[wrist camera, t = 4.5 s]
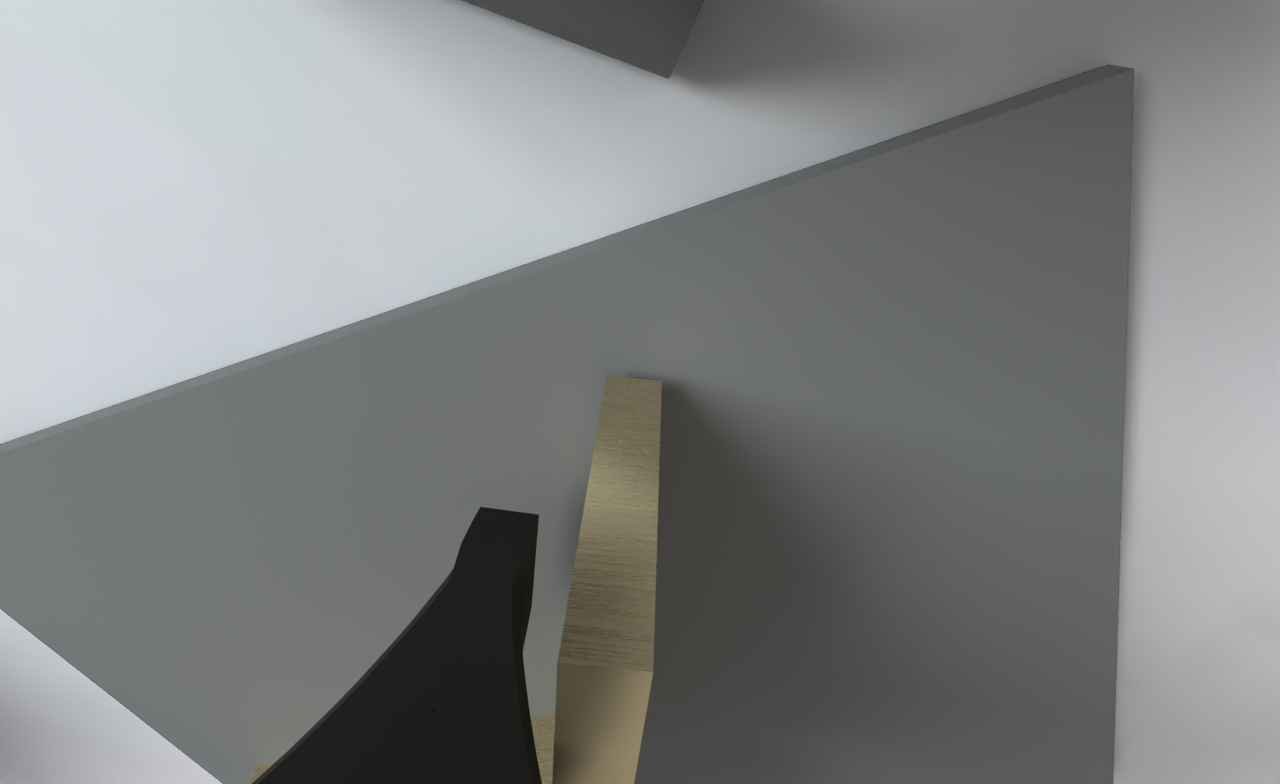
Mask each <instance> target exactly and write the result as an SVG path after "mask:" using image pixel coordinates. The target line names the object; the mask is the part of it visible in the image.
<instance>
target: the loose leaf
mask: <svg viewBox="0 0 1280 784" xmlns="http://www.w3.org/2000/svg"><path fill="white" fill-rule="evenodd" d="M661 391H662V381H656V380H647V379H637V378H627V377H618V376H608V375H607V377H606V383H605V388H604V394H603V400H602V406H601V412H600V417H599V423H598V429H597V435H596V441H595V447H594V452H593V458H592V464H591V470H590V476H589V481H588V487H587V493H586V499H585V505H584V511H583V516H582V522H581V528H580V534H579V540H578V545H577V551H576V557H575V563H574V569H573V575H572V580H571V586H570V592H569V598H568V604H567V609H566V615H565V621H564V627H563V633H562V639H561V644H560V650H559V656H558V662H557V683H556V706H555V730H554V753H553V777H552V784H634V781H635V775H636V770H637V764H638V758H639V752H640V746H641V740H642V735H643V729H644V723H645V717H646V711H647V705H648V699H649V694H650V688H651V682H652V676H653V662H654V628H655V594H656V560H657V526H658V492H659V459H660V425H661Z"/></svg>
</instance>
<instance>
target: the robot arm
mask: <svg viewBox="0 0 1280 784" xmlns="http://www.w3.org/2000/svg"><path fill="white" fill-rule="evenodd" d="M538 522H539V515H538V514H531V513H524V512H516V511H509V510H501V509H494V508H486V507H480V508H479V510H478V512H477V514H476V516H475V517H474V519H473V521H472V523H471V525H470V527H469V529H468V531H467V533H466V535H465V537H464V539H463V541H462V543H461V546H460V549H459V552H458V555H457V559H456V562H455V565H454V568H453V570H452V571H451V572H450V574H449V575H448V576H447V578H446V579H445V580H444V582H443V583H442V584H441V585H440V587H439V588H438V589H437V590H436V592H435V593H434V594H433V595H432V597H431V598H430V599H429V600H428V601H427V603H426V604H425V605H424V606H423V608H422V609H421V610H420V611H419V613H418V614H417V615H416V616H415V618H414V619H413V620H412V621H411V622H410V624H409V625H408V626H407V627H406V628H405V629H404V631H403V632H402V633H401V634H400V635H399V636H398V637H397V638H396V639H395V641H394V642H393V643H392V644H391V645H390V646H389V647H388V648H387V649H386V651H385V652H384V653H383V654H382V655H381V656H380V657H379V658H378V659H377V661H376V662H375V663H374V664H373V665H372V666H371V667H370V668H369V669H368V671H367V672H366V673H365V674H364V675H363V676H362V677H361V678H360V679H359V680H358V681H357V682H356V684H355V685H354V686H353V687H352V688H351V689H350V690H349V691H348V692H347V693H346V694H345V695H344V696H343V697H342V698H341V699H340V700H339V701H338V702H337V703H336V704H335V705H334V706H333V707H332V708H331V709H330V710H329V711H328V712H327V713H326V714H325V715H324V716H323V717H322V718H321V719H320V720H319V721H318V722H317V723H316V724H315V725H314V726H313V727H312V728H311V729H310V730H309V731H308V732H307V733H306V734H305V735H304V736H303V737H302V738H301V739H300V740H299V741H298V742H296V743H295V744H294V745H293V746H292V747H291V748H290V749H289V750H288V751H287V752H286V753H285V754H284V755H283V756H282V757H281V758H279V759H278V760H277V761H276V762H275V763H274V764H273V765H272V766H271V767H270V768H268V769H267V770H266V771H265V772H264V773H263V774H262V775H261V776H260V777H258V778H257V779H256V780H255V781H254V782H253V783H252V784H542V781H541V776H540V770H539V765H538V759H537V754H536V748H535V742H534V736H533V730H532V724H531V717H530V710H529V703H528V695H527V687H526V679H525V671H524V661H523V648H524V643H525V638H526V633H527V628H528V623H529V618H530V613H531V608H532V597H533V585H534V572H535V560H536V547H537V534H538Z"/></svg>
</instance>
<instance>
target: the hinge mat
mask: <svg viewBox="0 0 1280 784" xmlns="http://www.w3.org/2000/svg"><path fill="white" fill-rule="evenodd" d="M1133 81H1134V69H1131V68H1126V67H1120V66H1114V65H1106V66H1103V67H1100V68H1097V69H1094V70H1091V71H1088V72H1085V73H1082V74H1079V75H1076V76H1074V77H1071V78H1068V79H1065V80H1062V81H1059V82H1056V83H1053V84H1050V85H1047V86H1044V87H1041V88H1038V89H1036V90H1033V91H1030V92H1027V93H1024V94H1021V95H1018V96H1015V97H1012V98H1009V99H1006V100H1003V101H1001V102H998V103H995V104H992V105H989V106H986V107H983V108H980V109H977V110H974V111H971V112H968V113H966V114H963V115H960V116H957V117H954V118H951V119H948V120H945V121H942V122H939V123H936V124H933V125H931V126H928V127H925V128H922V129H919V130H916V131H913V132H910V133H907V134H904V135H901V136H898V137H895V138H893V139H890V140H887V141H884V142H881V143H878V144H875V145H872V146H869V147H866V148H863V149H860V150H858V151H855V152H852V153H849V154H846V155H843V156H840V157H837V158H834V159H831V160H828V161H825V162H823V163H820V164H817V165H814V166H811V167H808V168H805V169H802V170H799V171H796V172H793V173H790V174H788V175H785V176H782V177H779V178H776V179H773V180H770V181H767V182H764V183H761V184H758V185H755V186H752V187H750V188H747V189H744V190H741V191H738V192H735V193H732V194H729V195H726V196H723V197H720V198H717V199H715V200H712V201H709V202H706V203H703V204H700V205H697V206H694V207H691V208H688V209H685V210H682V211H680V212H677V213H674V214H671V215H668V216H665V217H662V218H659V219H656V220H653V221H650V222H647V223H645V224H642V225H639V226H636V227H633V228H630V229H627V230H624V231H621V232H618V233H615V234H612V235H609V236H607V237H604V238H601V239H598V240H595V241H592V242H589V243H586V244H583V245H580V246H577V247H574V248H572V249H569V250H566V251H563V252H560V253H557V254H554V255H551V256H548V257H545V258H542V259H539V260H537V261H534V262H531V263H528V264H525V265H522V266H519V267H516V268H513V269H510V270H507V271H504V272H502V273H499V274H496V275H493V276H490V277H487V278H484V279H481V280H478V281H475V282H472V283H469V284H466V285H464V286H461V287H458V288H455V289H452V290H449V291H446V292H443V293H440V294H437V295H434V296H431V297H429V298H426V299H423V300H420V301H417V302H414V303H411V304H408V305H405V306H402V307H399V308H396V309H394V310H391V311H388V312H385V313H382V314H379V315H376V316H373V317H370V318H367V319H364V320H361V321H359V322H356V323H353V324H350V325H347V326H344V327H341V328H338V329H335V330H332V331H329V332H326V333H323V334H321V335H318V336H315V337H312V338H309V339H306V340H303V341H300V342H297V343H294V344H291V345H288V346H286V347H283V348H280V349H277V350H274V351H271V352H268V353H265V354H262V355H259V356H256V357H253V358H251V359H248V360H245V361H242V362H239V363H236V364H233V365H230V366H227V367H224V368H221V369H218V370H216V371H213V372H210V373H207V374H204V375H201V376H198V377H195V378H192V379H189V380H186V381H183V382H181V383H178V384H175V385H172V386H169V387H166V388H163V389H160V390H157V391H154V392H151V393H148V394H145V395H143V396H140V397H137V398H134V399H131V400H128V401H125V402H122V403H119V404H116V405H113V406H110V407H108V408H105V409H102V410H99V411H96V412H93V413H90V414H87V415H84V416H81V417H78V418H75V419H73V420H70V421H67V422H64V423H61V424H58V425H55V426H52V427H49V428H46V429H43V430H40V431H38V432H35V433H32V434H29V435H26V436H23V437H20V438H17V439H14V440H11V441H8V442H5V443H2V444H0V609H1V610H2V611H4V612H5V613H6V614H7V615H9V616H10V617H11V618H12V619H14V620H15V621H16V622H18V623H19V624H20V625H21V626H23V627H24V628H25V629H26V630H28V631H29V632H30V633H32V634H33V635H34V636H35V637H37V638H38V639H39V640H40V641H42V642H43V643H44V644H46V645H47V646H48V647H49V648H51V649H52V650H53V651H54V652H56V653H57V654H58V655H60V656H61V657H62V658H63V659H65V660H66V661H67V662H69V663H70V664H71V665H72V666H74V667H75V668H76V669H77V670H79V671H80V672H81V673H83V674H84V675H85V676H86V677H88V678H89V679H90V680H91V681H93V682H94V683H95V684H97V685H98V686H99V687H100V688H102V689H103V690H104V691H105V692H107V693H108V694H109V695H111V696H112V697H113V698H114V699H116V700H117V701H118V702H119V703H121V704H122V705H123V706H125V707H126V708H127V709H128V710H130V711H131V712H132V713H133V714H135V715H136V716H137V717H139V718H140V719H141V720H142V721H144V722H145V723H146V724H147V725H149V726H150V727H151V728H153V729H154V730H155V731H156V732H158V733H159V734H160V735H161V736H163V737H164V738H165V739H167V740H168V741H169V742H170V743H172V744H173V745H174V746H175V747H177V748H178V749H179V750H181V751H182V752H183V753H184V754H186V755H187V756H188V757H190V758H191V759H192V760H193V761H195V762H196V763H197V764H198V765H200V766H201V767H202V768H204V769H205V770H206V771H207V772H209V773H210V774H211V775H212V776H214V777H215V778H216V779H218V780H219V781H220V782H221V783H223V784H249V782H250V780H251V778H252V776H253V774H254V772H255V771H256V769H257V767H258V765H263V764H269V763H275V762H276V761H277V760H278V759H279V758H281V757H282V756H283V755H284V754H285V753H286V752H287V751H288V750H289V749H290V748H291V747H292V746H293V745H294V744H295V743H296V742H298V741H299V740H300V739H301V738H302V737H303V736H304V735H305V734H306V733H307V732H308V731H309V730H310V729H311V728H312V727H313V726H314V725H315V724H316V723H317V722H318V721H319V720H320V719H321V718H322V717H323V716H324V715H325V714H326V713H327V712H328V711H329V710H330V709H331V708H332V707H333V706H334V705H335V704H336V703H337V702H338V701H339V700H340V699H341V698H342V697H343V696H344V695H345V694H346V693H347V692H348V691H349V690H350V689H351V688H352V687H353V686H354V685H355V684H356V682H357V681H358V680H359V679H360V678H361V677H362V676H363V675H364V674H365V673H366V672H367V671H368V669H369V668H370V667H371V666H372V665H373V664H374V663H375V662H376V661H377V659H378V658H379V657H380V656H381V655H382V654H383V653H384V652H385V651H386V649H387V648H388V647H389V646H390V645H391V644H392V643H393V642H394V641H395V639H396V638H397V637H398V636H399V635H400V634H401V633H402V632H403V631H404V629H405V628H406V627H407V626H408V625H409V624H410V622H411V621H412V620H413V619H414V618H415V616H416V615H417V614H418V613H419V611H420V610H421V609H422V608H423V606H424V605H425V604H426V603H427V601H428V600H429V599H430V598H431V597H432V595H433V594H434V593H435V592H436V590H437V589H438V588H439V587H440V585H441V584H442V583H443V582H444V580H445V579H446V578H447V576H448V575H449V574H450V572H451V571H452V570H453V568H454V565H455V562H456V559H457V555H458V552H459V549H460V546H461V543H462V541H463V539H464V537H465V535H466V533H467V531H468V529H469V527H470V525H471V523H472V521H473V519H474V517H475V516H476V514H477V512H478V510H479V508H480V507H486V508H494V509H501V510H509V511H516V512H524V513H531V514H538V515H539V522H538V534H537V547H536V560H535V572H534V585H533V597H532V608H531V613H530V618H529V623H528V628H527V633H526V638H525V643H524V648H523V661H524V671H525V679H526V687H527V695H528V703H529V710H530V717H537V716H542V715H548V714H554V713H555V706H556V683H557V662H558V656H559V650H560V644H561V639H562V633H563V627H564V621H565V615H566V609H567V604H568V598H569V592H570V586H571V580H572V575H573V569H574V563H575V557H576V551H577V545H578V540H579V534H580V528H581V522H582V516H583V511H584V505H585V499H586V493H587V487H588V481H589V476H590V470H591V464H592V458H593V452H594V447H595V441H596V435H597V429H598V423H599V417H600V412H601V406H602V400H603V394H604V388H605V383H606V377H607V375H608V376H618V377H627V378H637V379H647V380H656V381H662V391H661V425H660V459H659V492H658V526H657V560H656V594H655V628H654V662H653V676H652V682H651V688H650V694H649V699H648V705H647V711H646V717H645V723H644V729H643V735H642V740H641V746H640V752H639V758H638V764H637V770H636V775H635V781H634V784H1113V769H1114V735H1115V700H1116V666H1117V631H1118V597H1119V563H1120V528H1121V494H1122V460H1123V425H1124V391H1125V356H1126V322H1127V288H1128V253H1129V219H1130V184H1131V150H1132V116H1133Z"/></svg>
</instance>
